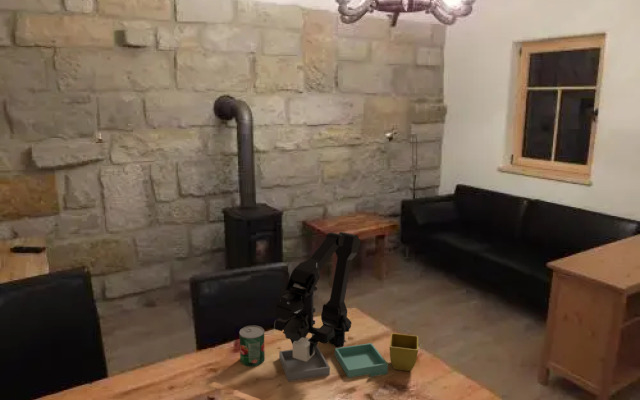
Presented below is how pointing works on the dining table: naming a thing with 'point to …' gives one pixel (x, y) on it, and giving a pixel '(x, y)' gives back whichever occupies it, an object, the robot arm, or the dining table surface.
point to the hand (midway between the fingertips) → (303, 353)
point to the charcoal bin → (303, 365)
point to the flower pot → (403, 351)
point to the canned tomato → (252, 346)
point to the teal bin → (361, 360)
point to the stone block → (302, 349)
